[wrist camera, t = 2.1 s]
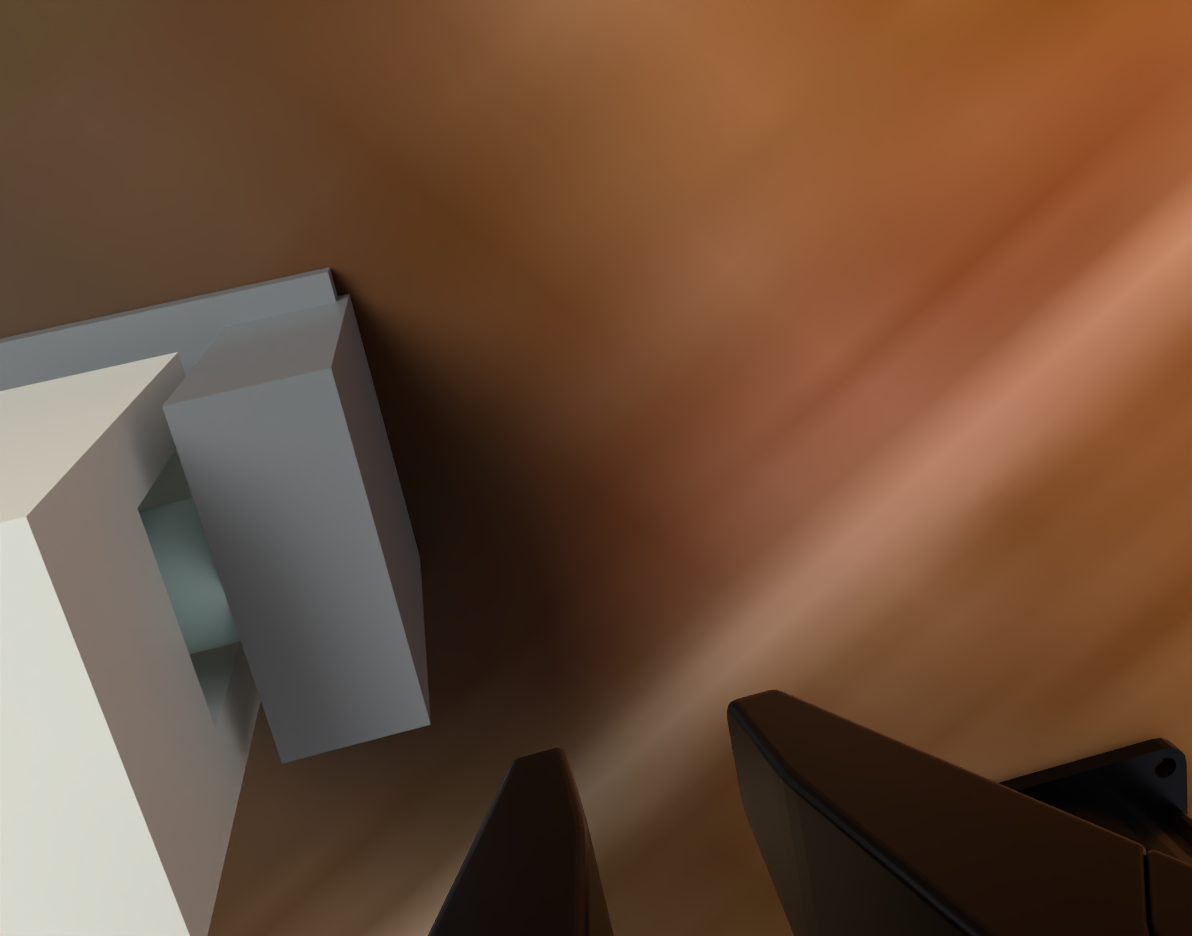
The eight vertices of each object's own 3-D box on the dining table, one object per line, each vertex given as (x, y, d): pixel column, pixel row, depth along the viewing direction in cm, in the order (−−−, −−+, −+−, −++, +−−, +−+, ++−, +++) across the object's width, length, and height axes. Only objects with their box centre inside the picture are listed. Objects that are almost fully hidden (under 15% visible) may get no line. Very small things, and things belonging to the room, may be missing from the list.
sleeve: (177, 352, 17) (26, 516, 10) (273, 644, 18) (200, 964, 11) (-28, 397, 16) (-336, 601, 9) (87, 691, 18) (-104, 1048, 11)
